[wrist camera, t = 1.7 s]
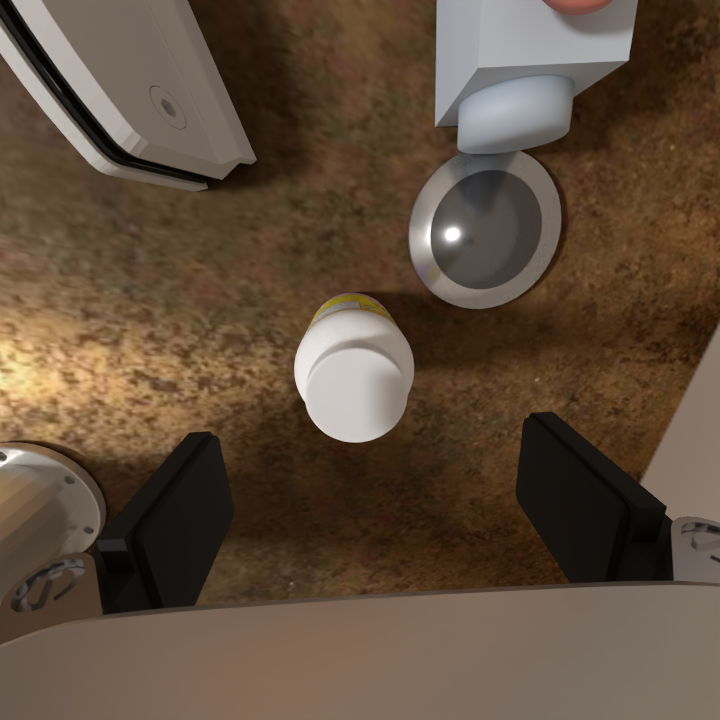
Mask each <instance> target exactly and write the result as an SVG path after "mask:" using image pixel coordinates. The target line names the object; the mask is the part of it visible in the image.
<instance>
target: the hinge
mask: <svg viewBox="0 0 720 720" xmlns="http://www.w3.org/2000/svg"><path fill="white" fill-rule="evenodd" d="M0 53H1V54H2V56H3V57H4V59H5V60H6V61H7V63H8V64H9V66H10V67H11V68H12V70H13V71H14V73H15V74H16V75H17V77H18V78H19V79H20V81H21V82H22V84H23V85H24V86H25V87H26V89H27V90H28V91H29V93H30V94H31V95H32V96H33V98H34V99H35V100H36V102H37V103H38V104H39V105H40V107H41V108H42V109H43V110H44V112H45V113H46V114H47V115H48V117H49V118H50V119H51V120H52V121H53V122H54V124H55V125H56V126H57V127H58V128H59V130H60V131H61V132H62V133H63V134H64V135H65V137H66V138H67V139H68V140H69V141H70V142H71V143H72V145H73V146H74V147H75V148H76V149H77V150H78V151H79V152H80V153H81V154H82V156H83V157H84V158H85V159H86V160H87V161H88V162H89V163H90V164H91V165H92V166H93V167H95V168H96V169H97V170H99V171H101V172H102V173H104V174H107V175H111V176H116V177H121V178H126V179H131V180H137V181H142V182H147V183H152V184H157V185H162V186H168V187H173V188H178V189H183V190H188V191H193V192H194V191H200V190H204V189H208V186H207V184H206V182H207V181H208V180H207V178H206V176H207V177H211V178H217V179H221V180H223V179H224V178H225V177H226V176H227V175H228V174H229V173H230V172H231V171H232V170H233V169H234V168H235V167H236V166H237V165H238V164H239V163H245V164H253V163H254V162H255V161H256V160H257V159H256V157H255V155H254V152H253V150H252V148H251V145H250V143H249V141H248V138H247V136H246V134H245V132H244V129H243V127H242V125H241V122H240V120H239V118H238V115H237V113H236V111H235V109H234V106H233V104H232V102H231V99H230V97H229V95H228V92H227V90H226V88H225V86H224V83H223V81H222V79H221V76H220V74H219V72H218V69H217V67H216V65H215V62H214V60H213V58H212V56H211V53H210V51H209V49H208V46H207V44H206V42H205V39H204V37H203V35H202V33H201V30H200V28H199V26H198V23H197V21H196V19H195V16H194V14H193V12H192V9H191V7H190V5H189V3H188V0H0Z"/></svg>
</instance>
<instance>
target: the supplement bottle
mask: <svg viewBox="0 0 720 720" xmlns="http://www.w3.org/2000/svg"><path fill="white" fill-rule="evenodd" d="M294 372H295V380H296V384H297V388H298V390H299V393H300V395H301V397H302V398H303V400H304V401H305V403H306V407H307V410H308V413H309V415H310V417H311V419H312V420H313V422H314V423H315V424H316V426H317V427H318V428H319V429H320V430H322V431H323V432H324V433H325V434H327V435H329V436H331V437H333V438H335V439H338V440H341V441H344V442H353V443H354V442H366V441H370V440H373V439H376V438H378V437H380V436H382V435H384V434H385V433H387V432H388V431H389V430H391V429H392V428H393V427H394V426H395V425H396V424H397V422H398V421H399V420H400V418H401V417H402V415H403V413H404V410H405V407H406V404H407V395H408V393H409V391H410V389H411V386H412V382H413V377H414V360H413V355H412V351H411V348H410V346H409V344H408V342H407V340H406V338H405V337H404V335H403V334H402V332H401V331H400V329H399V328H398V326H397V325H396V323H395V322H394V320H393V318H392V317H391V315H390V314H389V313H388V311H387V310H386V309H385V308H384V307H383V306H382V305H381V304H380V303H379V302H378V301H377V300H375V299H373V298H371V297H369V296H367V295H364V294H359V293H346V294H341V295H338V296H336V297H333V298H332V299H330V300H328V301H327V302H326V303H324V304H323V305H322V306H321V307H320V309H319V310H318V311H317V313H316V314H315V316H314V318H313V320H312V322H311V324H310V326H309V328H308V330H307V332H306V334H305V336H304V337H303V339H302V341H301V344H300V346H299V348H298V351H297V354H296V358H295V366H294Z"/></svg>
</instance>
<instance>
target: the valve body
mask: <svg viewBox="0 0 720 720" xmlns="http://www.w3.org/2000/svg"><path fill="white" fill-rule="evenodd" d="M637 3H638V0H437V30H436V103H435V127H446V126H458V145H457V147H458V150H460V151H462V152H465V153H470V154H496V153H505V152H512V151H518V150H523V149H528V148H532V147H536V146H540V145H543V144H547V143H549V142H552V141H555V140H557V139H559V138H561V137H563V136H564V135H566V134H567V133H568V132H569V129H570V121H571V113H572V104H573V97H575V96H576V95H578V94H579V93H581V92H582V91H584V90H585V89H587V88H588V87H590V86H591V85H593V84H594V83H596V82H597V81H599V80H600V79H602V78H603V77H605V76H606V75H608V74H609V73H611V72H612V71H614V70H615V69H617V68H618V67H620V66H621V65H623V64H624V63H626V62H627V61H628V60H629V54H630V48H631V41H632V35H633V29H634V22H635V16H636V10H637Z"/></svg>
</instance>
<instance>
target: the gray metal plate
mask: <svg viewBox="0 0 720 720" xmlns="http://www.w3.org/2000/svg"><path fill="white" fill-rule="evenodd" d="M560 230H561V206H560V201H559V196H558V193H557V190H556V187H555V185H554V183H553V181H552V179H551V177H550V176H549V174H548V173H547V172H546V170H545V169H544V168H543V167H542V166H541V165H540V164H539V163H538V162H537V161H536V160H535V159H533V158H532V157H531V156H529V155H528V154H526V153H524V152H522V151H520V150H518V151H512V152H505V153H496V154H470V153H465V152H463V153H460V154H458V155H457V156H455V157H453V158H452V159H450V160H449V161H447V162H446V163H445V164H444V165H442V166H441V167H440V168H439V169H438V170H437V171H436V172H435V173H434V174H433V175H432V176H431V177H430V178H429V179H428V180H427V182H426V183H425V184H424V186H423V187H422V188H421V190H420V192H419V194H418V195H417V197H416V199H415V202H414V204H413V206H412V210H411V213H410V216H409V222H408V228H407V244H408V252H409V257H410V260H411V263H412V266H413V268H414V270H415V272H416V274H417V276H418V277H419V279H420V280H421V282H422V283H423V284H424V285H425V286H426V287H427V289H428V290H430V291H431V292H432V293H433V294H434V295H436V296H437V297H439V298H441V299H442V300H444V301H446V302H448V303H450V304H453V305H456V306H459V307H463V308H470V309H484V308H491V307H495V306H499V305H501V304H504V303H507V302H509V301H511V300H513V299H514V298H516V297H518V296H519V295H521V294H522V293H524V292H525V291H526V290H527V289H529V288H530V287H531V286H532V285H533V284H534V283H535V282H536V281H537V280H538V279H539V277H540V276H541V275H542V273H543V272H544V271H545V269H546V268H547V266H548V264H549V263H550V261H551V259H552V257H553V254H554V252H555V250H556V247H557V243H558V240H559V235H560Z"/></svg>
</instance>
